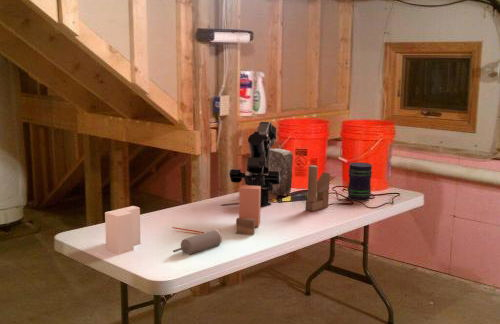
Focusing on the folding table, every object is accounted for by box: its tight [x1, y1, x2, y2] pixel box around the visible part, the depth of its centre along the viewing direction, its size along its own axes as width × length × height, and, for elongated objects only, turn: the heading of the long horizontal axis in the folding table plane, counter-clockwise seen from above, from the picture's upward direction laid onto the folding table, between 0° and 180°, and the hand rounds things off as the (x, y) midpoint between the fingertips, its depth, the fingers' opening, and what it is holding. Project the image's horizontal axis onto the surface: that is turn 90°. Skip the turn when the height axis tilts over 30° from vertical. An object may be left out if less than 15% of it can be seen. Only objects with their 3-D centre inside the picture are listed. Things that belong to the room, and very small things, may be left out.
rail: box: [235, 217, 256, 236], centre depth 193 cm, size 20×6×5 cm, turn 171°
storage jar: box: [347, 161, 373, 202], centre depth 236 cm, size 10×10×15 cm
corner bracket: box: [104, 205, 141, 255], centre depth 170 cm, size 11×11×12 cm
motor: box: [171, 226, 223, 256], centre depth 175 cm, size 23×22×5 cm
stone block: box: [268, 148, 294, 196], centre depth 241 cm, size 13×7×20 cm, turn 40°
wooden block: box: [305, 165, 331, 212], centre depth 217 cm, size 4×11×18 cm, turn 135°
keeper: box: [238, 184, 262, 228], centre depth 194 cm, size 5×7×14 cm
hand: (252, 195), depth 199 cm, fingers closed
